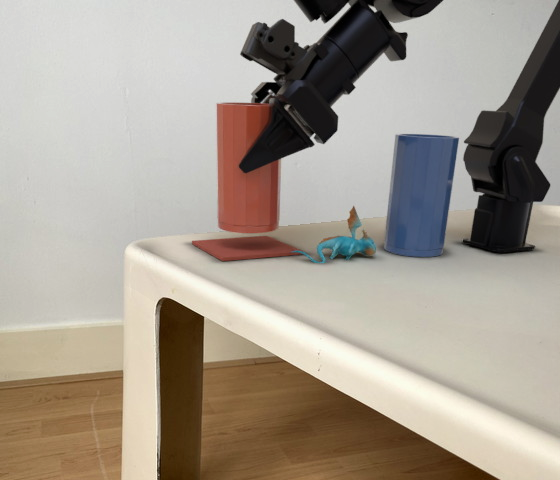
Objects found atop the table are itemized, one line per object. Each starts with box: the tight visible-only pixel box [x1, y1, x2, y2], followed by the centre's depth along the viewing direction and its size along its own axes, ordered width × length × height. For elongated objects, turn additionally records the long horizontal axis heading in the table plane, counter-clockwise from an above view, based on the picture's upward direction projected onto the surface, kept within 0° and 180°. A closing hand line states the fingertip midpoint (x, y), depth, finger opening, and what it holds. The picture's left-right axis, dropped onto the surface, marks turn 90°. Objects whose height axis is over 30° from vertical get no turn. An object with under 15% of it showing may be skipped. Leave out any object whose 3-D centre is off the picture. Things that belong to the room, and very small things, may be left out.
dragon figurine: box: [292, 205, 377, 264], centre depth 70 cm, size 6×7×8 cm
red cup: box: [215, 101, 283, 234], centre depth 70 cm, size 7×7×13 cm
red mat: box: [191, 235, 304, 262], centre depth 73 cm, size 10×9×1 cm
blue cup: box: [383, 133, 460, 258], centre depth 73 cm, size 7×7×13 cm
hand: (236, 166), depth 69 cm, fingers closed on red cup, 7 cm apart
